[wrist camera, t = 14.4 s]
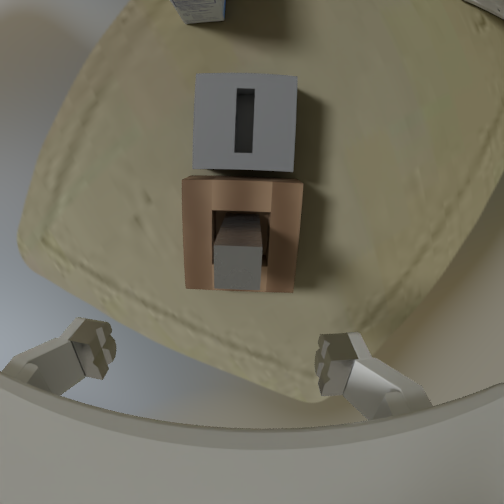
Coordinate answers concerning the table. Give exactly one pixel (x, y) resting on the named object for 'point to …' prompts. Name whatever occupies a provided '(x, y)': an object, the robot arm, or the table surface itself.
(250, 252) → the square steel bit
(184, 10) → the medicine box
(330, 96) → the table surface
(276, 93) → the grey slot block
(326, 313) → the table surface
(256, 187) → the walnut bore block
